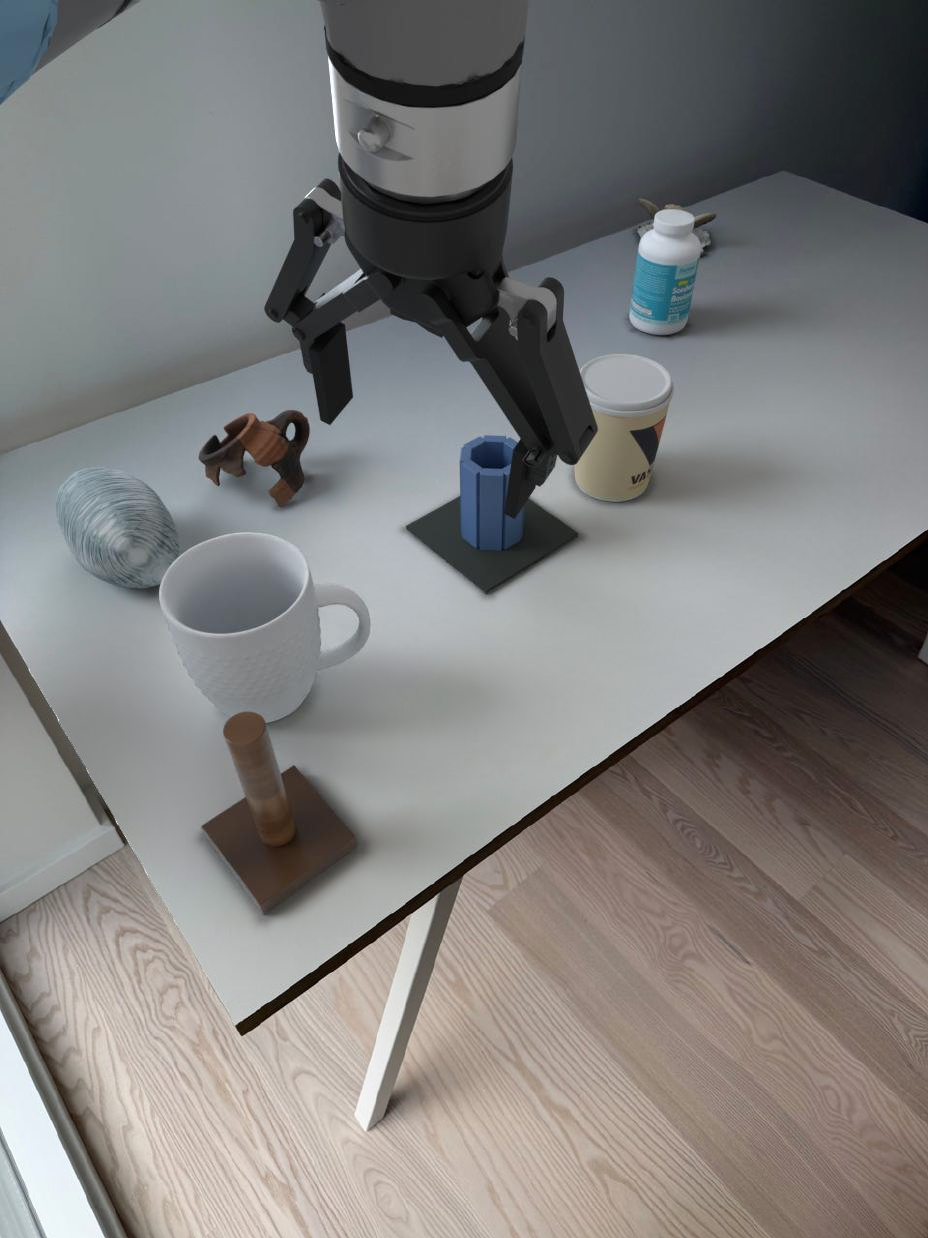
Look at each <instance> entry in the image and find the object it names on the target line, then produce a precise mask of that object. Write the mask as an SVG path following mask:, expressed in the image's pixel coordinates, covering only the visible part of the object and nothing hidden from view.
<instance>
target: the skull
mask: <svg viewBox="0 0 928 1238" xmlns="http://www.w3.org/2000/svg"><path fill="white" fill-rule="evenodd" d="M638 204H640V206H641V207H642V208H643V209H644V210H645V211H646V212H647V213H648V214H649V216H650V217H651V218H652V220H653V221H654V218H655V215H656V213H657V212H659V211H662V210H668V209H675V210H682V211H686V209H685V208H683V207H682V206H680V205H679V204H678V205H675V203H672V204H666V205H665V206H664V207H663V209H660V208H659V207H658V206H657V205H656V204H655V203H654V202H651V201H650V200H648V199H645V198H638ZM717 216H718V215H717V213H715V212H707V213H703V214H699V215H696V216H694V218H695V221H694V228H693V230H692V233H693V234H695V235H696V236H697V238H698V239H699V241H700V244H701V252H700V257H702V256H705V254H706V253H705V251H704V247H706V246H707V248H708V249H710V248H711V247H712V244H711V243H712V241H711V239H710V234H709V232H708V231H707V230H704V228H702V227H701V226H704V225H707V224H708V223H711V222H712V221H714V220H715V219H716V218H717ZM653 223H654V222H652V221H649V222H646V224H644V225H643V226H640V225H638V227H637V229H636V232H637V233H638V236H639V238H640V240H641V238H642V237H643V235H644V234H646V233H647V232H648V231H650V230H652V229H654V227H653ZM640 240H639V241H640Z"/></svg>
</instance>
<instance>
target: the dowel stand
mask: <svg viewBox="0 0 928 1238" xmlns="http://www.w3.org/2000/svg"><path fill="white" fill-rule="evenodd" d="M222 734H223V738H224V741H225V743H226V746H227V749H228V752H229V755H230V757H231V760H232V763H233V767H234V768H235V772H236V774H237V777H238V780H239V782H240V785H241V789H242V792H243V795H244V796H245V797H243V798H241V799H240V800H238V801H237V802H236V803H234V804H233V805H231V806H229V807H228V808H227V809H225V810H223V811H222V812H221V813H218V814H217V815H215V816H214V817H213V818H211V819H210V820H208V821H207V822H205V823H204V824H202V825H201V826H200V827H201V830H202V832H203V835H204V837H205V838H206V840H207V841H208V842H209V844H210V845H211V847H213V849H214V851H215V852H216V854H217V855H218V856H219V857H220V859H221V860H222V862H223V863H224V864H225V865H226V867H227V868H228V869H229V871H230V872H231V873H232V875H233V876H234V878H235V879H236V880H237V882H238V883H239V884H240V886H241V887H242V889H243V890H244V891H245V892H246V895H248V897H249V898H250V899H251V900H252V902H253V904H254V905H255V906H256V907H257V909H258V911H260V913H261V914H262V915H263V916H265V915H266V914H267V913H269V912H271V910H273V909H274V908H276V907H277V906H278V905H279V904H281V903H282V902H284V901H285V900H287V899H288V898H289V897H291V896H292V895H293V894H294V893H296V892H298V891H299V890H300V889H301V888H303V887H304V886H305V885H307V884H308V883H309V882H311V881H312V880H313V879H315V878H317V877H318V876H319V875H321V874H322V873H323V872H325V871H326V870H328V868H330V867H331V866H333V865H334V864H336V863H337V862H338V861H340V860H341V859H342V858H344V857H345V856H347V854H350V853H351V852H352V851H353V850H355V849H356V848H357V847H358V841H357V836H356V834H355V833H354V832H353V831H352V830H351V828H349V826H348V825H347V824H346V823H345V822H344V820H343V819H342V818H341V817H340V816H339V815H338V814H337V812H335V810H334V809H333V808H332V807H331V805H330V804H329V803H328V802H327V801H326V800H325V799H324V797H323V796H322V795H321V793H320V792H318V791H317V790H316V788H315V787H314V786H313V785H312V784H311V783H310V781H309V780H308V779H307V778H306V777H305V775H304V774H303V773H302V772H301V771H300V769H298V767H296V765H295V764H294V765H292V766H290V767H288V768H287V769H285V771H283V772H281V771H280V767H279V763H278V761H277V757H276V753H275V749H274V747H273V743H272V740H271V737H270V736H271V735H270V733H269V730H268V726H267V723H265V720H264V718H263V717H262V716H261V715H259V714H258V713H255V712H250V711H246V712H240V713H238V714H235V715H234V716H232V717H231V716H230V717H229V718H228V719H227V720H226V722H225V723H224V726H223V728H222Z"/></svg>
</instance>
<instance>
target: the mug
mask: <svg viewBox="0 0 928 1238" xmlns="http://www.w3.org/2000/svg"><path fill="white" fill-rule="evenodd" d="M158 599H159V605H160V609H161V612H162V614H163V617H164V619H165V622H166V625H167V630H168V632H169V634H170V635H171V638H172V639H171V640H172V642H173V645H174V646H175V649H176V651H177V654H178V656H179V658H180V660H181V662H182V665H183V667H184V668H185V669H186V671H187V674H188V676H189V677H190V679H191V680H192V681H193V682H194V685H195V686H196V687H197V688H198V689H199V691H200V693H201V694H202V695H203V696H204V697H205V698H207V700H208V701H209V702H210V703H212V704H213V705H214V706H215V708H217V709H218V710H220V711H221V712H222V713H223V714H224V715H225V714H226V715H227V716H229V717H230V718H231V717H232V716H234V715H235V714H238V713H240V712H246V711H250V712H255V713H258V714H259V715H261V716H262V717H263V718H264V720H265V723H266V724H267V723H272V722H276V721H279V720H282V719H283V718H286V717H287V716H289V715H291V714H292V713H293V712H294V711H296V710H297V709H298V708H299V706H301V704H303V702H304V701H305V699H306V697H307V696H308V694H309V693H310V691H311V690H312V688H313V685H314V682H315V680H316V676H317V673H318V672H321V671H324V670H327V669H329V668H333V667H335V666H338V665H341V664H342V663H344V662H346V661H348V660H350V659H351V658H353V657H355V656H356V655H357V654H358V653H360V652H361V650H363V648H364V647H365V645H366V644H367V642H368V640H369V638H370V633H371V627H372V626H371V625H372V623H371V616H370V612H369V609H368V606H367V605H366V603H365V601H364V599H363V598H362V597H361V596H360V595H359V594H358V593H357V592H355V591H354V590H352V589H351V588H349V587H346V586H342V585H338V584H332V583H317V584H314V580H313V577H312V572H311V567H310V564H309V561H308V560H307V557H306V556H305V555H304V553H303V552H302V551H301V550H300V549H299V547H298V546H296V545H295V544H293V543H292V542H290V541H288V540H287V539H285V538H282V537H280V536H276V535H273V534H268V533H264V532H263V533H262V532H252V531H250V532H248V531H247V532H244V531H243V532H234V533H227V534H222V535H219V536H216V537H213V538H209V539H207V540H205V541H202V542H200V543H198V544H196V545H194V546H192V547H190V548H188V549H187V550H186V551H184V552H183V553H182V554H180V555H179V557H178V558H177V559H176V560H175V561H174V562H173V563H172V564H171V565H170V567H169V568H168V570H167V571H166V573H165V575H164V577H163V579H162V581H161V584H159V590H158ZM335 605H337V606H345V607H347V608H349V609H350V610H352V611H353V612H354V613H355V614H356V616H357V618H358V626H357V629H356V631H354V633H353V635H352V636H350V637H349V638H348V639H347V640H346V641H344V642H343V643H341V644H340V645H338V646H336V647H334V648H330V649H327V650H324V651H323V650H322V651H321V647H322V638H321V637H322V636H321V634H322V629H321V618H320V615H319V612H320V611H319V609H320V608H325V607H328V606H335Z"/></svg>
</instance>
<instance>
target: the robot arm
mask: <svg viewBox="0 0 928 1238" xmlns="http://www.w3.org/2000/svg"><path fill="white" fill-rule="evenodd" d="M317 1H318V2H319V5H320V10H321V14H322V18H323V22H324V25H323V30H324V31H323V32H324V40H325V41H324V42H325V50H326V54H327V58H328V59H327V60H328V69H329V79H330V91H331V100H332V101H331V102H332V111H333V122H334V123H333V124H334V132H335V141H336V145H337V148H338V156H337V169H338V179H339V180H338V181H339V186H338V184H337V183H336V182H335V181H333V179H331V178H328V177H326V178H323V179H322V180H321V181H320V182H319V183H318V184H317V185H316V186H315V187H314V188H312V190H310V191H309V192H308V194H306V196H305V197H303V199H302V200H301V201H300V202H299V203H298V204H297V205H295V207H294V208H293V210H292V220H293V223H292V224H293V241H292V243H291V245H290V247H289V250H288V252H287V255H286V256H285V259H284V262H283V263H282V266H281V268H280V270H279V273H278V275H277V277H276V280H275V281H274V284H273V286H272V288H271V290H270V293H269V296H268V298H267V300H266V302H265V305H264V307H263V310H264V313H265V315H266V316H267V318H269V319H270V320H271V321H272V322H274V323H276V324H280V323H281V322H282V321H284V322H286V324H288V325H289V326H291V332H292V335H293V337H295V339H296V340H298V341H299V342H298V343H299V346H300V351H301V357H302V358H301V359H302V363H303V366H304V368H305V370H306V372H307V373H309V374H311V375H312V379H313V386H314V390H315V397H316V403H317V408H318V413H319V421H320V422H323V423H325V424H326V425H328V426H331V425H332V424H333V423H334V421H335V420H336V419H337V418H338V416H339V415H340V414H341V413H342V412H343V410H345V408H346V407H347V406H348V405H349V403H350V402H351V401H352V400H353V398H354V393H353V382H352V375H351V374H352V373H351V365H350V357H349V349H348V348H349V346H348V339H347V329H346V324H345V323H343V321H344V320H346V319H348V318H350V316H352V315H353V314H355V313H361V312H362V311H364V310H366V309H367V308H369V307H370V306H372V305H373V304H375V303H377V302H379V301H381V303H382V304H384V305H385V307H387V308H388V309H389V314H390V315H392V316H394V317H396V318H398V319H401V320H403V321H407V322H411V323H414V324H417V325H418V326H420V328H423V329H424V330H426V331H427V332H428V333H430V334H433V335H435V336H437V337H438V338H441V339H443V338H444V339H445V340H446V342H447V344H448V345H449V347H450V348H451V350H452V351H453V353H454V354H455V356H456V358H457V359H458V360H459V361H460V362H463V363H466V362H468V363H469V364H471V366H472V368H473V369H474V370H475V372H476V374H477V375H478V376H479V378H480V379H481V381H482V382H483V384H484V385H485V387H486V388H487V390H488V392H489V393H490V395H491V397H492V398H493V400H494V401H495V402H496V404H497V405H498V407H499V408H500V410H501V411H502V414H503V415H504V416H505V418H506V419H507V421H508V423H509V424H510V425H511V427H512V428H513V430H514V431H515V433H516V435H517V436H518V437H519V440H518V441H517V442H518V443H517V445H516V446H515V448H514V449H513V454H512V461H511V468H510V476H509V483H508V490H507V497H506V504H505V511H504V514H505V515H507V516H509V517H511V518H513V519H515V518H516V517H517V515H518V514H519V512H520V510H521V509H522V507H523V506H524V504H525V503H526V501H527V500H528V498H529V499H530V497H531V495H532V494H533V493H534V491H535V489H536V487H542V485H544V484H545V482H546V481H547V480H548V478H549V477H550V475H551V473H552V472H553V470H554V469H555V467H556V464H557V459H558V458H559V459H560V461H562V462H563V463H564V464H566V465H568V466H575V464H577V463H578V461H579V460H580V458H581V457H582V455H583V453H584V452H585V450H586V449H587V447H588V446H589V444H590V443H591V441H592V440H593V438H594V436H595V435H596V433H597V431H598V427H597V424H596V420H595V417H594V414H593V411H592V408H591V405H590V402H589V399H588V396H587V393H586V390H585V387H584V383H583V380H582V377H581V374H580V369H579V364H578V362H577V359H576V356H575V352H574V349H573V347H572V344H571V343H572V342H571V340H570V337H569V334H568V331H567V328H566V325H565V321H564V309H565V307H564V306H565V289H564V286H563V284H562V282H560V281H559V280H558V279H557V278H554V277H550V276H548V277H544V278H543V279H542V281H540V283H539V284H538V285H537V286H534V285H531V284H528V283H525V282H522V281H520V280H516V279H513V278H511V277H510V275H509V271H508V270H507V267H506V264H505V261H504V256H503V254H504V247H505V242H506V237H507V231H508V226H509V225H508V224H509V214H510V205H511V204H510V203H511V196H512V195H511V194H512V193H511V192H512V185H513V183H512V182H513V175H514V174H513V172H514V159H513V157H514V153H515V149H516V147H517V139H518V123H519V110H520V98H521V97H520V96H521V84H522V83H521V82H522V71H523V69H522V68H523V58H524V57H523V55H524V50H525V39H526V33H527V32H526V31H527V23H528V14H529V13H528V12H529V4H530V0H317ZM140 2H142V0H0V106H1V105H2V104H3V103H4V102H5V101H6V100H8V99H9V98H10V97H11V96H12V95H13V94H14V93H15V92H16V91H17V90H18V89H19V88H21V87H22V86H23V85H24V84H25V83H27V82H28V81H29V80H30V78H31V77H32V76H33V75H34V74H36V73H38V71H40V70H41V69H43V68H44V67H45V66H47V65H48V64H49V63H51V62H53V61H54V60H55V59H57V58H58V57H59V56H61V55H62V54H64V53H65V52H66V51H68V50H69V49H71V48H72V47H73V46H75V45H77V43H79V42H81V40H83V39H85V38H86V37H87V36H89V35H90V34H92V33H93V32H94V31H96V30H98V29H100V28H102V27H103V26H105V25H106V24H107V23H110V22H111V21H113V19H115V18H117V17H118V16H120V15H121V14H123V13H125V12H126V11H128V10H129V9H131V8H133V7H134V6H135V5H137V4H138V3H140ZM341 237H344V242H345V245H346V247H347V249H348V251H349V252H350V254H351V255H352V257H353V258H354V260H355V262H356V264H357V265H358V267H359V268H360V269H358V270H357V271H356V272H354V273H353V274H352V275H350V276H349V277H347V278H346V279H345V280H343V281H342V282H340V283H338V285H336V286H335V287H333V288H332V289H330V290H329V291H328V292H323V293H322V294H321V295H319V297H318V298H317V300H316V301H315V302H313V301H312V300H311V299H310V298H308V297H307V296H306V295H307V293H308V291H309V289H310V287H311V286H312V283H313V282H314V279H315V277H316V275H317V273H318V272H319V269H320V267H321V266H322V264H323V263H324V260H325V258H326V256H327V254H328V252H329V250H330V248H331V247H332V245H333V244H335V243H336V242H337V241H338V240H339V239H340V238H341ZM480 319H481V321H480V322H479V323H478V324H477V325H476V327H475V328H474V330H473V331H472V332H470V331H469V329H468V327H470V326H471V325H473V324H475V323H476V322H478V321H479V320H480ZM516 337H517V338H516Z"/></svg>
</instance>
